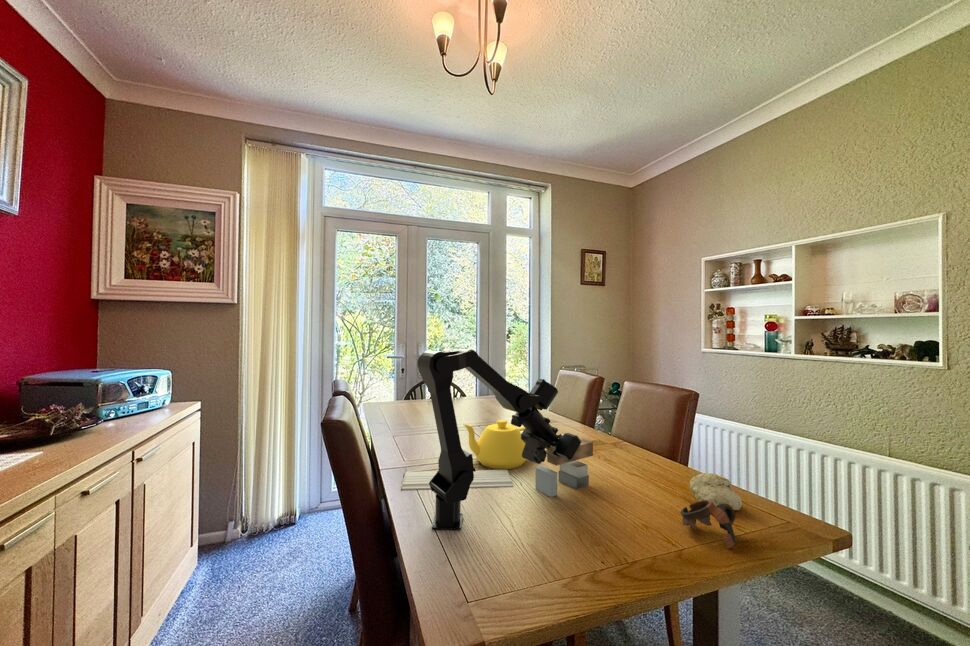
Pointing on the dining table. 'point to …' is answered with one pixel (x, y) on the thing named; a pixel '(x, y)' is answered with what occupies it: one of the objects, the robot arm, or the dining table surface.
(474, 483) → the baseboard molding
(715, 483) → the decorative item
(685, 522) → the dark curved fragment
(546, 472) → the light gray rectangular block
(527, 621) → the dining table surface
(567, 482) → the grey stepped block
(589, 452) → the batten
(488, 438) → the teapot
